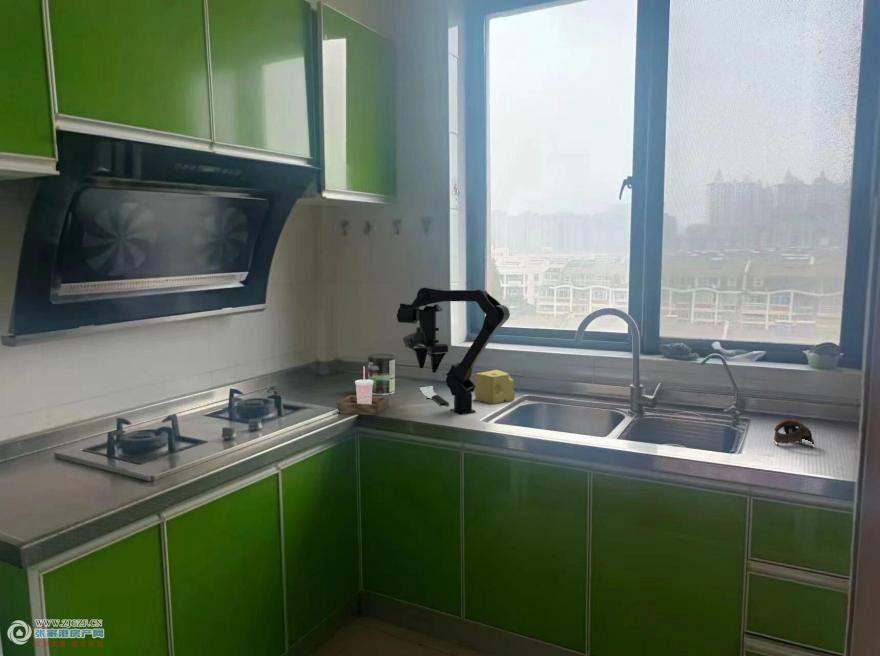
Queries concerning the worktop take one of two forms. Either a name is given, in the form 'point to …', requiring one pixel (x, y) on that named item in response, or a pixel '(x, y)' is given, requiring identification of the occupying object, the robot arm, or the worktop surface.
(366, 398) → the beverage cup
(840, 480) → the worktop surface
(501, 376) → the cheese
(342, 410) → the tray
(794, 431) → the brown openwork dome
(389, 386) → the coffee can
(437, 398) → the kitchen cleaver
